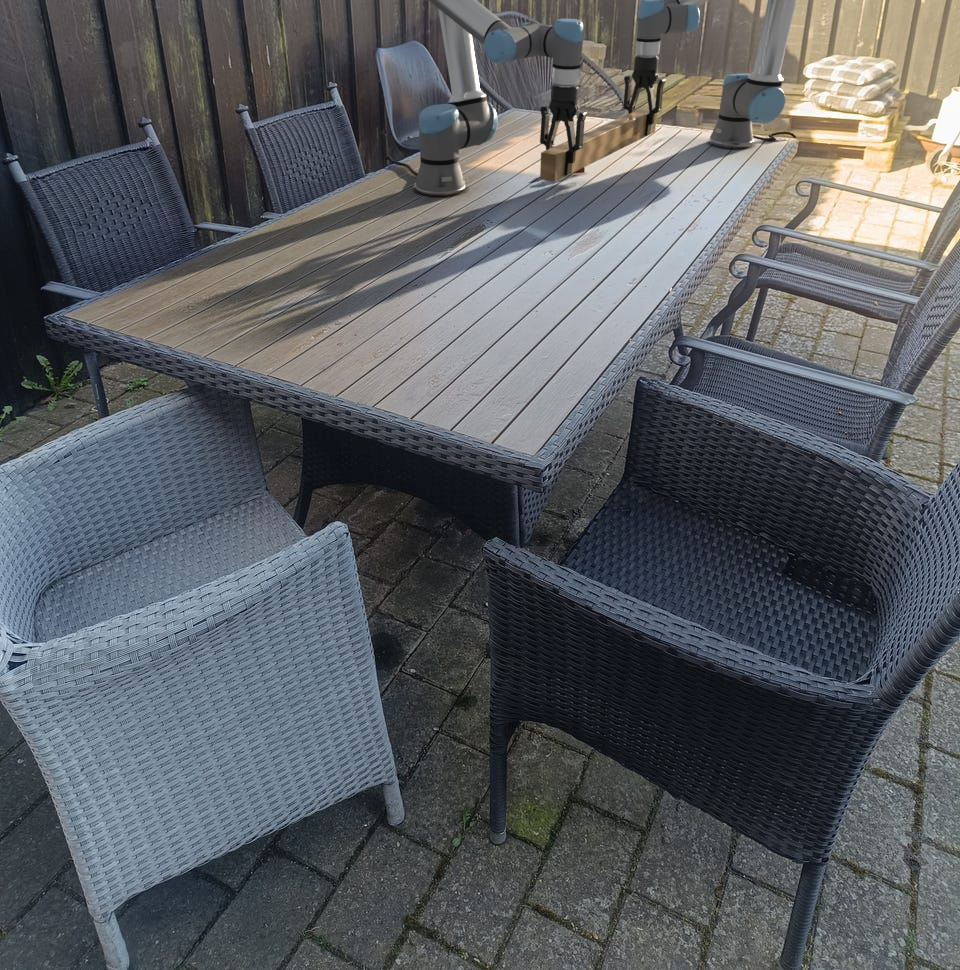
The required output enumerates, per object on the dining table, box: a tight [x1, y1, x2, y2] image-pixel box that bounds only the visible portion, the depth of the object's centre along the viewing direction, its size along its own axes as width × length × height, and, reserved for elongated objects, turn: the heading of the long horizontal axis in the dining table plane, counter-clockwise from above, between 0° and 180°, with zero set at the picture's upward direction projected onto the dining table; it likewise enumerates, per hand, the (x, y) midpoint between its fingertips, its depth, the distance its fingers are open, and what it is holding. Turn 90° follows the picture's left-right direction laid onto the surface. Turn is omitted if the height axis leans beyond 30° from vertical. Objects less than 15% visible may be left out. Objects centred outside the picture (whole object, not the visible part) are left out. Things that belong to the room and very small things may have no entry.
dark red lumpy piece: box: [571, 167, 586, 175], centre depth 273 cm, size 6×4×8 cm
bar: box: [539, 106, 658, 183], centre depth 258 cm, size 68×5×7 cm, turn 146°
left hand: (559, 172), depth 241 cm, fingers closed on bar, 5 cm apart
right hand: (639, 133), depth 278 cm, fingers closed on bar, 5 cm apart
